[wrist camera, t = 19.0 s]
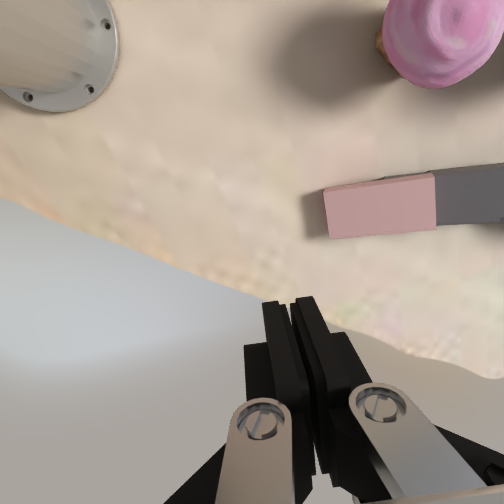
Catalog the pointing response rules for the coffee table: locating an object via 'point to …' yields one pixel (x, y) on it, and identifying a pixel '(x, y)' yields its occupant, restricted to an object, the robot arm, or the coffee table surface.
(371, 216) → the rose domino
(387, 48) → the cupcake
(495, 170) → the domino
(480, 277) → the coffee table surface
